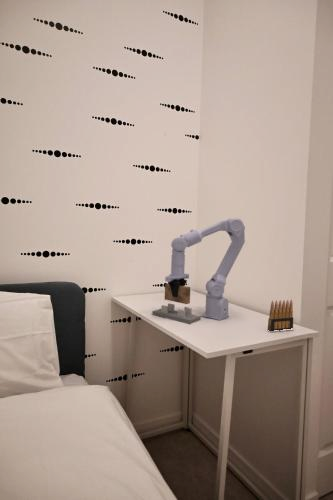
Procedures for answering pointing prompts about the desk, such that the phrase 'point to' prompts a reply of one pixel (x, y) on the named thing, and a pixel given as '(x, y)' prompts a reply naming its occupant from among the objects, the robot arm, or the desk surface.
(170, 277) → the robot arm
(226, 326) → the desk surface
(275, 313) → the ammunition clip
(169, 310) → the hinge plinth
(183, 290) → the door panel
